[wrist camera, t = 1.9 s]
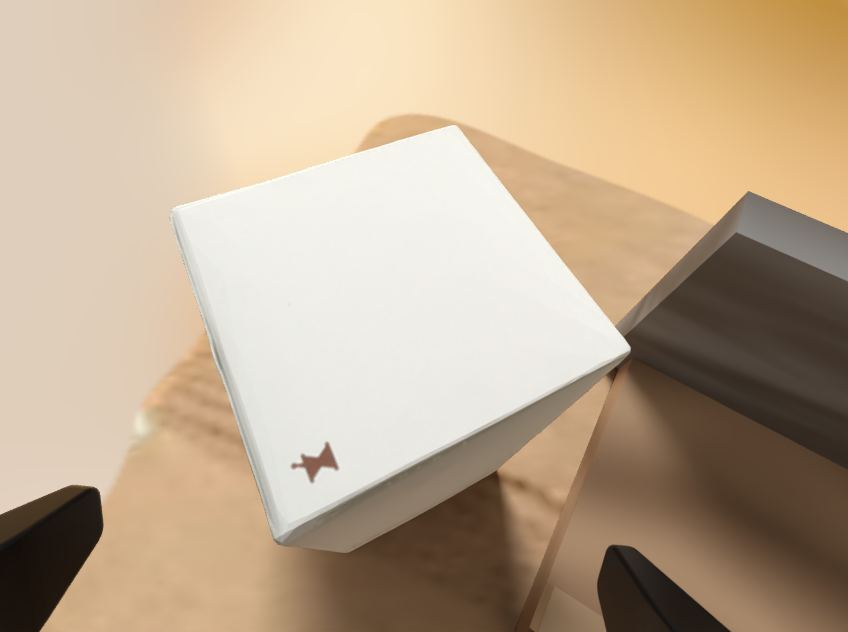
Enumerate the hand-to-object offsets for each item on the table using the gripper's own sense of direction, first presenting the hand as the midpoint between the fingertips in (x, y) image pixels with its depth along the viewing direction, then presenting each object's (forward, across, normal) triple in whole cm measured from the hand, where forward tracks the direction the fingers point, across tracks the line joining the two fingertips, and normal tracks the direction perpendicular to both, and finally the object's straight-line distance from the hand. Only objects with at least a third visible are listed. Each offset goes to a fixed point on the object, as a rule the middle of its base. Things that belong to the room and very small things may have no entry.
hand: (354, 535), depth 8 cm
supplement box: (+11, 0, +5) cm, 12 cm away
